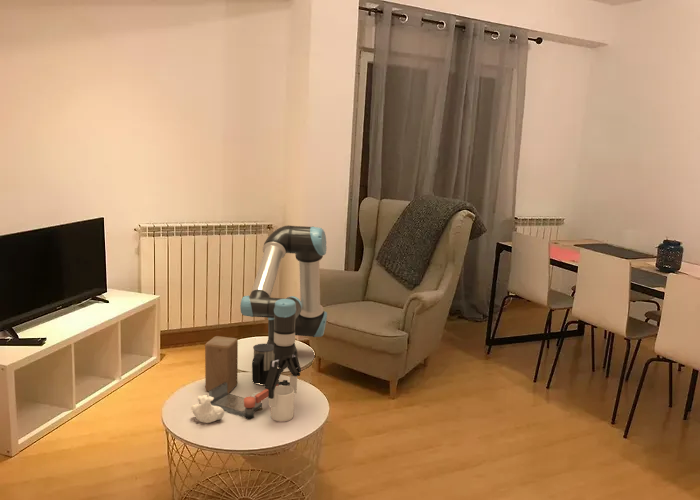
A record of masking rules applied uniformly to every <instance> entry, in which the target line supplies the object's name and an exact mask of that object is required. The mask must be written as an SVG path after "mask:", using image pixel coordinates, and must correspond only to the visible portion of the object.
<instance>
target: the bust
mask: <svg viewBox="0 0 700 500" xmlns="http://www.w3.org/2000/svg"><path fill="white" fill-rule="evenodd" d="M213 399H214V397H211V396H209V394H203V395H197V400H198V403H196V404H193V405H192V406H191V407H190V410H191V412H192V414H193V415H194V417H195V419H196V420H197V421H199V422H200V423H203V424H210V423H212V422H216V421H218V420H222V419H223V417H224V415H225V411H224V410H223V409H222V408H221V407H219V406H213V405H211V401H213Z"/></svg>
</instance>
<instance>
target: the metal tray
mask: <svg viewBox="0 0 700 500" xmlns="http://www.w3.org/2000/svg"><path fill="white" fill-rule="evenodd" d="M209 396H211V397H214V399H213V401H211V405H213V406H219V407H221V408H222V409H223V410H224V412H226V413H230V414H233V415H236V416H239V417H242V418H245V419H247V420H251V419H254V418H255V415H254V414H255V412H256V411H258V410H260V409H261V408H262V407H263V403H262V402H261V405H259V406H258V407H256V408H254V407H253V408H246V407H244V398H245V397H242V396H240V395H239V396H238V395H235V394H231V393H230V392H229V393H227V383H226V382H224V383H222V384H220V385H219V386H217V387H215V388H213V389H211V390H209V391H208V397H209ZM260 407H261V408H260Z"/></svg>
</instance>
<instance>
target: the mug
mask: <svg viewBox="0 0 700 500" xmlns="http://www.w3.org/2000/svg"><path fill="white" fill-rule="evenodd" d="M275 389H276V407H272V406H270V418H271V419H272V420H273V421H275V422H281V423H282V422H283V423H285V422H289V421H291V420H292V419H293V418H294V414H295V412H294V411H295V393H294V389H293V388H292V387H290V385H287V386H283V385H279V386H276V387H275Z"/></svg>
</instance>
